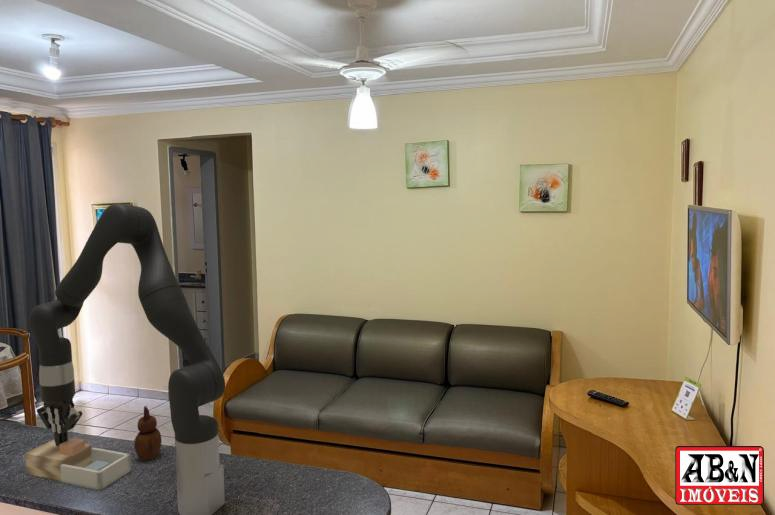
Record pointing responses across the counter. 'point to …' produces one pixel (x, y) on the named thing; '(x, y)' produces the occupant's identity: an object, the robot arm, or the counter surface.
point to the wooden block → (54, 460)
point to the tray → (94, 478)
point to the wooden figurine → (147, 437)
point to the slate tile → (97, 465)
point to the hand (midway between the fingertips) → (61, 445)
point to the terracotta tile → (72, 446)
